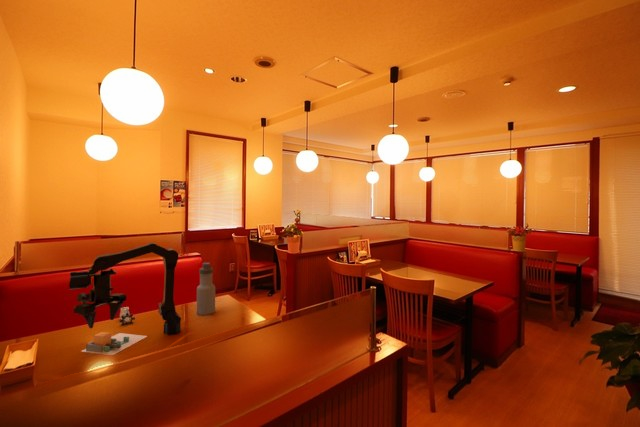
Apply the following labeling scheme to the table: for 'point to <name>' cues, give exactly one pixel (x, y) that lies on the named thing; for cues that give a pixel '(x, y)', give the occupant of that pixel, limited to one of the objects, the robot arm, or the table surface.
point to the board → (120, 337)
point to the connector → (104, 340)
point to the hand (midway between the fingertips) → (101, 323)
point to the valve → (126, 316)
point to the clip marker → (123, 341)
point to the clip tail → (107, 348)
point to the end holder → (96, 346)
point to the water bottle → (206, 291)
